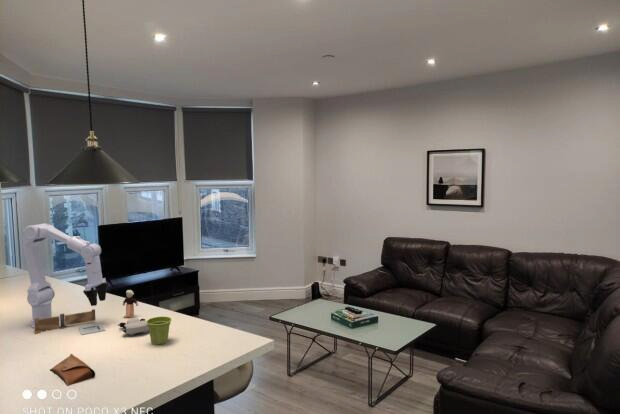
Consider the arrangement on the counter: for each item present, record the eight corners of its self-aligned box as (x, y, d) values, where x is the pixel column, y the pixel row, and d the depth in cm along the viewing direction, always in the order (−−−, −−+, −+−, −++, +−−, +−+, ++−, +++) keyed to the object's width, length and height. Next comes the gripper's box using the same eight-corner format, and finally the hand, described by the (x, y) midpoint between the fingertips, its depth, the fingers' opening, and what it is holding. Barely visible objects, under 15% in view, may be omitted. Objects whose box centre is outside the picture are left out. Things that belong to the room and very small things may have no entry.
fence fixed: (34, 330, 181) (33, 317, 180) (66, 325, 187) (65, 312, 187) (34, 334, 177) (34, 320, 176) (67, 328, 183) (66, 315, 183)
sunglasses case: (47, 369, 144) (57, 349, 146) (66, 373, 149) (76, 354, 151) (67, 386, 132) (78, 365, 135) (88, 390, 137) (99, 369, 139)
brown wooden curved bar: (60, 326, 183) (60, 315, 183) (60, 325, 185) (59, 314, 184) (95, 320, 191) (95, 309, 190) (95, 319, 192) (94, 308, 192)
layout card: (78, 328, 183) (78, 327, 183) (101, 324, 188) (101, 323, 188) (81, 335, 176) (81, 334, 176) (105, 330, 181) (105, 329, 181)
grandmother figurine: (120, 318, 196) (119, 291, 195) (123, 315, 200) (122, 289, 199) (137, 318, 196) (136, 291, 195) (140, 315, 200) (139, 288, 199)
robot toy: (116, 331, 183) (124, 339, 170) (115, 320, 183) (123, 328, 170) (146, 325, 190) (156, 332, 178) (145, 315, 190) (155, 321, 178)
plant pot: (177, 339, 171) (176, 317, 170) (161, 348, 162) (161, 325, 162) (157, 336, 174) (157, 315, 174) (141, 344, 165) (140, 322, 165)
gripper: (95, 274, 177) (99, 306, 178) (110, 267, 192) (115, 297, 193) (78, 276, 177) (82, 308, 178) (95, 269, 192) (99, 299, 193)
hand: (98, 303), depth 185 cm, fingers open, 7 cm apart
